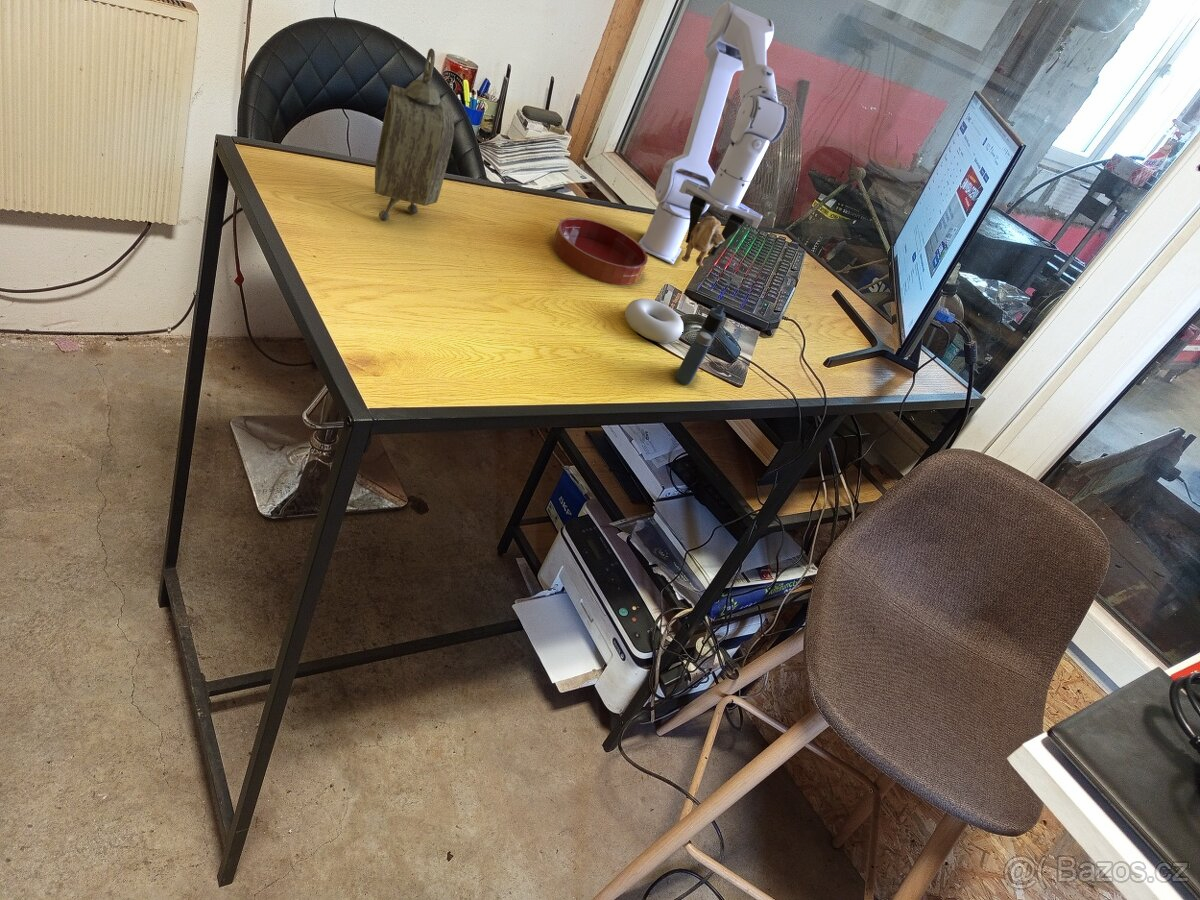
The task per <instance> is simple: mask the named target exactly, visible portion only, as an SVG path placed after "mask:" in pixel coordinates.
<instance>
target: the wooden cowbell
mask: <svg viewBox="0 0 1200 900" xmlns="http://www.w3.org/2000/svg"><path fill="white" fill-rule="evenodd" d="M435 61H436V53H435V50H434V48H429V49H428V51H427V55H426V60H425V66H424V70H423V76H422V79H415V80H413V81H412V82H410V83H409V84H408V85H407V86H406V88H404V87H401V86H398V85H395V84H391V85H390V88H389V93H388V97H387V101H386V107H385V111H384V116H383V121H382V127H381V131H380V137H379V142H378V146H377V147H378V148H377V151H376V152H377V153H376V159H375V166H374V167H375V168H374V191H375V195H381V196H384V197H388V198H390V199H389V202H388V204H387V205H386V207H385V210H384V209H383V210H380V212H378V219H379V220H380V221H382V222H387V221H388V220H389V219H390V211H391V210H392V209H393V206H394V205H395V204H397V203H398V202H399V201H403V202H407V203H410V204H409V205H408V206H407V211H408V213H409V214H410V215H416V214H417V213H418V211H419V209H418V206H417V205H419V206H423V207H425V206H429V205H433V204H435V203H438V201H439V197H440V194H441V191H442V187H443V184H444V179H445V175H446V171H447V168H448V164H449V159H450V156H451V151H452V146H453V142H454V137H455V124H454V123H455V122H454V118H453V114H452V111H451V109H450V108H449V107H448V106H447V105H446V103H444V102H443V101H442V100H441V97H440V93H439V91H438V89H437V88H436V86H435V85H434V84H432V83H431V80H432V78H433V72H434V68H435Z"/></svg>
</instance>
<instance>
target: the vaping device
mask: <svg viewBox="0 0 1200 900" xmlns="http://www.w3.org/2000/svg"><path fill="white" fill-rule="evenodd" d="M724 310H725V307H724V306H723V305H721V304H717V306H716V307H711V308H710V310H709V312H708V314H707V316H706V318H705V320H704V322H703V324H702V325H701V328H700V329H699V331H698V332H697V334H696V336H695V337H694V340H693V342H692V343H691V344H690V346H689V348H688V350H687V352H686V354H685V356H684V358H683V360H682V362H681V364H680V366H679V368H678V370H677V371H676V375H675V379H676V381H677V382H678V383H680V384H683V385H685V386H686V385H690V384H691V382H692V381H693V380H694V378H695V377H696V374H697V372H698V371H699V369H700V367H701V366H702V365H701V364H702V363H703V361H704V359H705V357H706V355H707V354H708V350H709V349H710V346H711V345H712V343H713V341H714V339H715V337H716V335H717V333H718V331H719V329H720V327H721V325H722V323H723V322H724V320H725V318H726V313H725V312H724Z"/></svg>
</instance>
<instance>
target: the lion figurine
mask: <svg viewBox="0 0 1200 900" xmlns="http://www.w3.org/2000/svg"><path fill="white" fill-rule="evenodd" d="M721 225H722V222H721V221H720V220H719V219H717V218H716V217H715V216H713V215H706V216H704V217H703V219H701V220H699V222H698V223H697V224H696V226H694V228H693V230H692V232H691V236H690V241H689V243H687V245H686V246H685V248H686V250H685V253H684V255H683V256H682V257H681V261H683V262H685V263H687V262H689V261H690V259H691V253H692V251H693V249H695V250H696V251H698V252H700V253H699V255H698V256H697V257H696V259H695V264H696V266H698V267H703V266H704V263H703V260H704V258H705V256H706V255H707V253H708V252H710V251H711V250H710V249H711V248H712V247H714V246H715V247H718V245H719V244H720V243H722V242H724V241H725V239H724V238H723V236H722V234H721V233H722V230H721ZM725 242H726V241H725ZM725 242H724V243H725Z"/></svg>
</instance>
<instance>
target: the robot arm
mask: <svg viewBox="0 0 1200 900" xmlns="http://www.w3.org/2000/svg"><path fill="white" fill-rule="evenodd" d="M774 34H775V26H774V21H773V20H772V19H770V18H765V17H763V16H762V15H758V14H756V13H754V12H752V11H750V10H747V9H745V8H742V7H740V6H738V5H735V4H733V3H732V2H731V1H730V0H729V1H727V0H726V1H725V2H724V3H722V4H721V5H719V7H718V8H717V10H716V11H715V14H714V16H713V17H712V20H711V23H710V26H709V29H708V33H707V37H706V39H705V40H706V41H705V44H704V50H703V54H704V55H705V56H706V58H707V60H708V62H707V66H706V71H705V74H704V79H703V82H702V85H701V89H700V92H699V96H698V99H697V100H698V101H697V103H696V106H695V107H696V108H695V110H694V114H693V116H692V120H691V124H690V127H689V131H688V135H687V138H686V141H685V145H684V148H683V152H682V153H681V154H680V155H678V156H675V157H673V158H670V159H669V160H667V161H666V162H665V164H664V166H663V168H662V171H661V173H660V175H659V177H658V179H657V181H656V185H655V192H654V196H655V200H656V202H658V203H657V206H656V209H655V211H654V213H653V215H652V218H651V220H650V222H649V225H648V227H647V229H646V232H645V233H644V234H643V236H642V237H641V238H640V240H639V241H638V242H637V243H638V244H639V245H640V246H641V247H642V248H643V249H644V251H645V252H646V253H648V254H650V255H651V256H654V257H656V258H657V259H659V260H663V261H665V262H667V263H669V264H671V265H674V264H675V262H676V260H677V259H678V257H679V255H680V253H681V252H682V247H681V245H682V243H683V241H684V238H685V236H686V234H687V236H686V239H685V241H684V242H685V243H686V244H688V243H689V241H690V236H691V232H692V230H693V228H694V226H696V224H698V223H699V222H700V219H701V217H702V215H703V214H704V213H706V212H707V210H708V209H709V207H710V206H711V207H713V208H715V209H717V210H719V211H722V212H723V213H726V214H727V215H729V217H728V219H727V221H726V223H725V225H724V227H723V229H722V230H721V234H722V236H723V238H724V239H725V241H724V242H722V243H720V244H719V245H718V247H715V246H714V245H713V246H712V248H711V250H710V255H711V256H714V257H715V255H716V253H717V251H718V250H719V249H720V248H721V246H722V245H723V244H724V243H725V242H726V241H727V240H728V239H729V238H730V237H731V236H732V235H734V234H735V233H737V231H739V229H741V227H742V226H743V223H747V224H748V225H750V226H751V227H752V228H754V229H758V227H759V225H760V223H761V221H762V219H763V216H764V215H763V214H761V213H759V212H757V211H755V210H754V209H752V208H750V207H749V206H747V205H745V204H744V203H742V201H743V198H744V197H745V195H746V192H747V190H748V188H749V186H750V185H751V182H752V180H753V178H754V176H755V174H756V172H757V170H758V168H759V166H760V164H761V162H762V160H763V158H764V156H765V153H766V152H767V150H768V147H769V145H770V144H774V143H775V142H777V141H778V140H779V139H780V137H781V136H782V134H783V132H784V130H785V128H786V125H787V123H788V117H789V107H788V105H786V104H784V103H782V101H779V99H778V92H777V86H776V77H775V72H774V69H773V68H771V67H769V65H768V63H767V61H768V60H767V59H768V58H767V51H768V49H769V47H770V45H771V43H772V41H773V37H774ZM740 71H742V72H741V74H740V76H739V79H738V87H739V97H740V106H739V108H738V111H737V114H736V118H735V122H734V125H733V128H732V131H731V134H730V139H731V141H730V143H729V145H728V147H727V150H726V152H725V154H724V156H723V157H722V160H721V162H720V164H719V166H718V169H717V171H716V173H714V171H713V169H712V167H711V165H710V163H709V160H710V159H709V158H710V155H711V152H712V147H713V144H714V141H715V138H716V134H717V131H718V127H719V124H720V122H721V118H722V114H723V110H724V107H725V104H726V100H727V97H728V94H729V90H730V86H731V85H732V80H733V77H734V75H735V73H736V72H740Z"/></svg>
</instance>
